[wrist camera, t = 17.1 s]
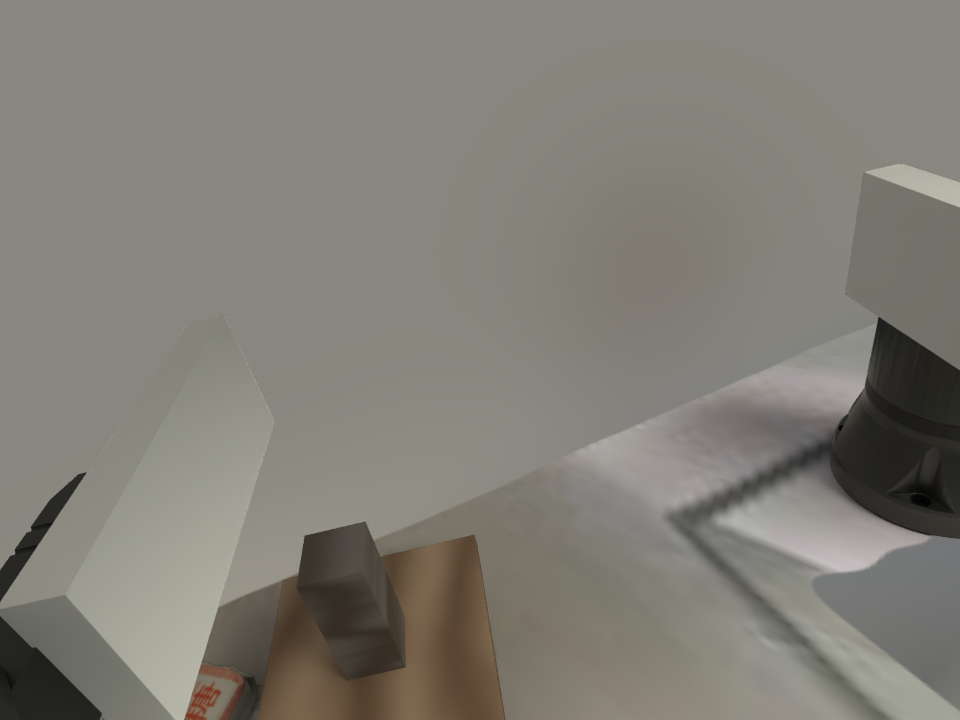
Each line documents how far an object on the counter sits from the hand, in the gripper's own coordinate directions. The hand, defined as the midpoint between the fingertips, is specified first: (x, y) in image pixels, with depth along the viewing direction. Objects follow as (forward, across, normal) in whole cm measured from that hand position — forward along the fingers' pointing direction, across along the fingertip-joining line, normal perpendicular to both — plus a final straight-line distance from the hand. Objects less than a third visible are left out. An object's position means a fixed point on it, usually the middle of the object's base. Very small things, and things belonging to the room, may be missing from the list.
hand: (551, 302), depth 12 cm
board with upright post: (+15, -13, -33) cm, 38 cm away
